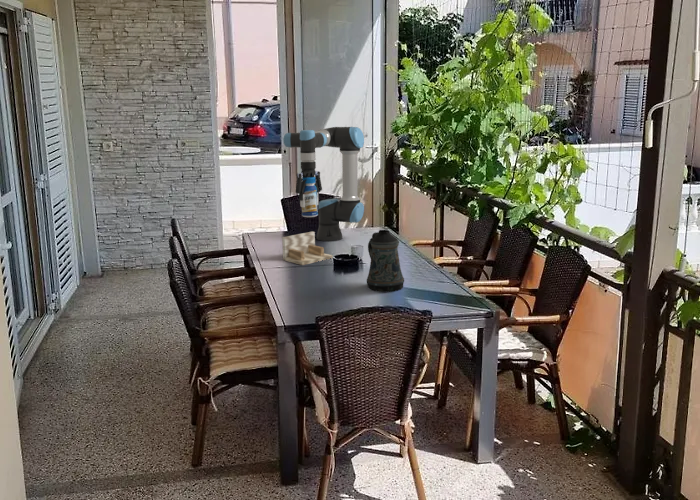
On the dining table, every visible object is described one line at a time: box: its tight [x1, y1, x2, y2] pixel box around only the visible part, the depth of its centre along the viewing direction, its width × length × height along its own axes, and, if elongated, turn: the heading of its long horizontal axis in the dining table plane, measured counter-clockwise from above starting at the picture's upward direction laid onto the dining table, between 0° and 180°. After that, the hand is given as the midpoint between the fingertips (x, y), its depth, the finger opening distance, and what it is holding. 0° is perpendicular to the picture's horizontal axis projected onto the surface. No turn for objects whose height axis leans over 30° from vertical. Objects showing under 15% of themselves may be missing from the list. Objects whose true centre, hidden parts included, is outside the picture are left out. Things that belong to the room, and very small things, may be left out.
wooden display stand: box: [281, 231, 333, 266], centre depth 353 cm, size 20×16×12 cm
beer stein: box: [366, 229, 405, 293], centre depth 299 cm, size 16×19×25 cm
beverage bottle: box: [301, 176, 319, 218], centre depth 348 cm, size 8×8×20 cm
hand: (309, 205), depth 349 cm, fingers closed on beverage bottle, 8 cm apart
